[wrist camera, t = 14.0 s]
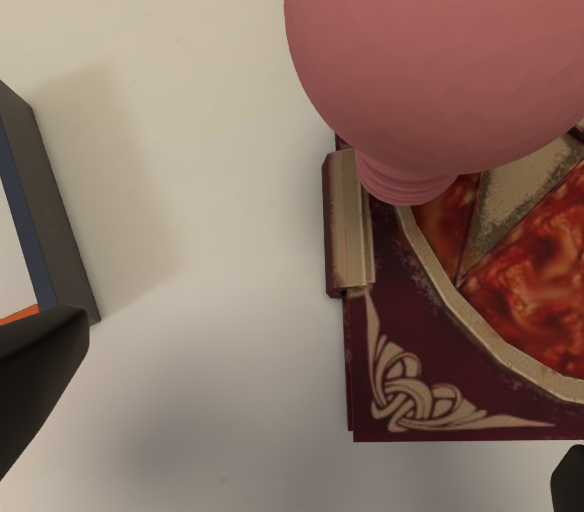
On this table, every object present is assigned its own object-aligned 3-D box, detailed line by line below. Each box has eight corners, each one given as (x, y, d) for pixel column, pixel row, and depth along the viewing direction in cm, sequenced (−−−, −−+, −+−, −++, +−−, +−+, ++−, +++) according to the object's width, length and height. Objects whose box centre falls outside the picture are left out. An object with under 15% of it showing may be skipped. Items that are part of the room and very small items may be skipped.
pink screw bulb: (289, 102, 19) (227, -311, 7) (464, 66, 19) (691, -421, 7) (323, 271, 17) (312, 92, 6) (514, 234, 17) (916, -31, 5)
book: (837, 423, 19) (1013, 444, 15) (329, 430, 20) (334, 453, 15) (696, -123, 26) (786, -236, 21) (310, -101, 26) (310, -205, 21)
